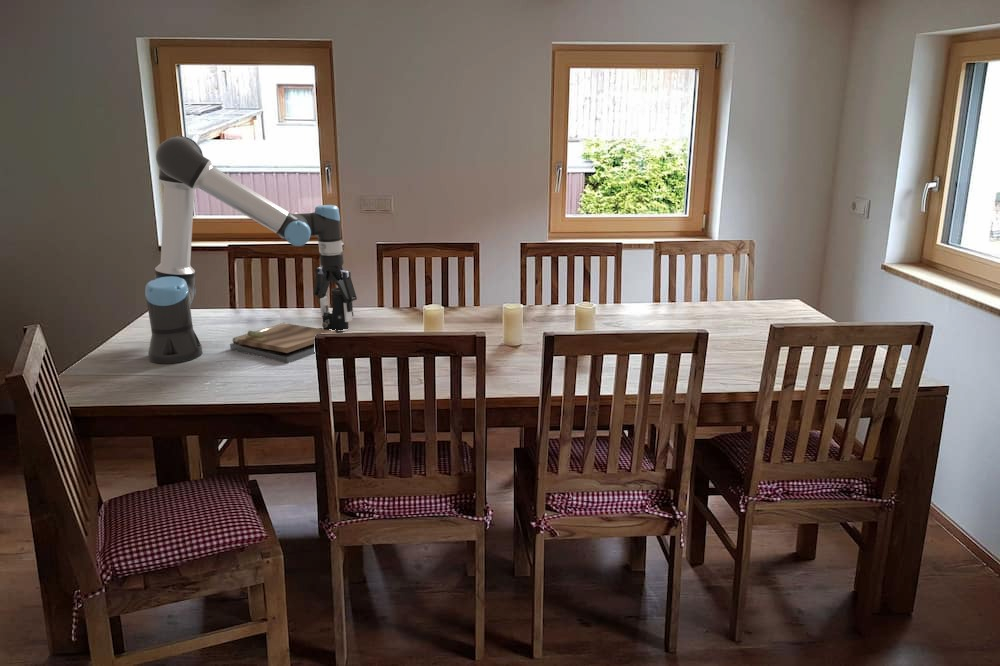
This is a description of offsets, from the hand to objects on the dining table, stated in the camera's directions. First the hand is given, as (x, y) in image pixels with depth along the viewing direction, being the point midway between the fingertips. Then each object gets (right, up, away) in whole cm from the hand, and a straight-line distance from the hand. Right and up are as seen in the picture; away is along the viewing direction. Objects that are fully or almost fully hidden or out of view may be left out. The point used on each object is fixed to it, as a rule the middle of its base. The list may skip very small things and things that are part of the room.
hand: (336, 318), depth 266 cm
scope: (+1, -4, +1) cm, 4 cm away
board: (-12, -7, -18) cm, 22 cm away
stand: (-12, -9, -17) cm, 23 cm away
